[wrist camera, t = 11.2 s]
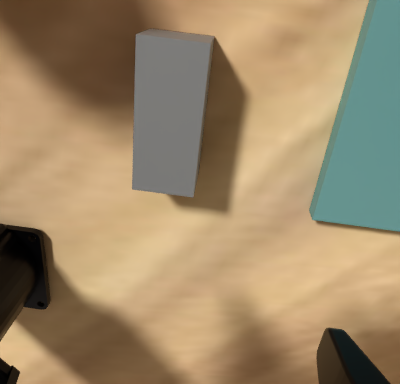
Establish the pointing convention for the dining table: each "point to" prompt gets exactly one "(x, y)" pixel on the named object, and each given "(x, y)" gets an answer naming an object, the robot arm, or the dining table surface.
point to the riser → (169, 109)
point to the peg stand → (366, 131)
